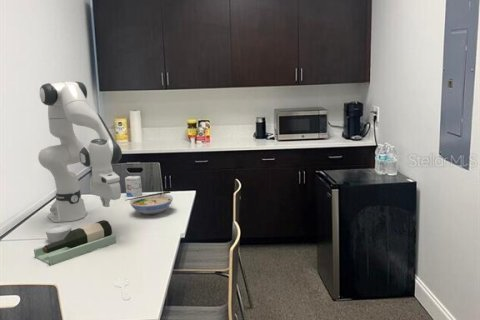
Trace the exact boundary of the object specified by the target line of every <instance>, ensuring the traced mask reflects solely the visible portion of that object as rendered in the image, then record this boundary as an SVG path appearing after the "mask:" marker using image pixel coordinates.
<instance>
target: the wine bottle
mask: <svg viewBox="0 0 480 320" xmlns="http://www.w3.org/2000/svg"><path fill="white" fill-rule="evenodd" d="M111 235H113V228H112V225H111V224H110V222H109V220H106V219H105V220H104V219H103V220H100V221H96V222H93V223H91V224H87V225H84V226H81V227H78V228H75V229H71V231H70V232H69V233H68V234H67V236H66V237H65V238H64V239H63V240H60V241H57V242H54V243H52V242H50V243H48V244H45V245H43V246H44V247H43V246H42V247H43V248H42V249H43V252H44V253H50V252H53V251H56V250H59V249H62V248H65V247H68V248H74V247H77V246H80V245H83V244H86V243H89V242H92V241H95V240H98V239H101V238H104V237H107V236H111Z"/></svg>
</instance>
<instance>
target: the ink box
mask: <svg viewBox="0 0 480 320" xmlns="http://www.w3.org/2000/svg"><path fill="white" fill-rule="evenodd" d="M141 178H142V177H141V176H140V175H129V176H126V177H124V184H125V192H126V193H125V194H126V197H128V198H135V197H138V196H142V195H143V188H142V186H143V185H142V180H141Z"/></svg>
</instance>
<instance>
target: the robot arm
mask: <svg viewBox="0 0 480 320" xmlns="http://www.w3.org/2000/svg"><path fill="white" fill-rule="evenodd" d="M39 98H40V101H41V103H42V104H43V105H45V106H47V118H48V126H49V127H48V128H49V132H50V134H51V135H52V136H53V137H55V138H57V139H59V141H60V144H56V145H50V146H47V147H45V148H43V149H40V151H39V152H38V163H39V165H41V167H43V168H45V169H46V170H48V171H49V173H51V175H52V177H53V180H54V183H55V188H56V192H55V200H54V202H52V204H51V205H50V208H49V211H50V212H49V213H48V214H46V217H47V218H49V219H50V220H51V221H52V222H54V223H62V222H63V223H64V222H73V221H77V220H81V219H84V218H85V217H86V215H88V214H89V211H88V210H86V206H85V200H84V198H82V192H81V189H80V183H79V177H78V175H77V174H76V173H74V172H72V171H69V169H68V166H69V165H73V164H78V163H80V164H81V165H83V166H84V167H86V168H91V176H90V178H89V183H88V184H89V186H88V188H89V193H90V195H93V196H96V197H99V199H100V201H101V202H102V203H101V204H102V207H105V208H109V207H110V202H111V201H112V200H113V201H115V200H120V199H121V196H122V189H121V184H120V180H121V177H120V176H119V174H117V173H116V172H115V171H113V170H114V169H113V166H112V165H117V164H118V163H119V161H120V160H121V159H122V156H123V151H122V149H121V147H120V145H119V144H118V143H117V141H116V140H115V139H114V137H113V134H112V133H111V132H110V130H109V127H108V126H107V125H106V123H105V121H104V119H103V118H102V117H101V115H100V114H99V113H96V112H95V111H94V110H93V109H92V108H91V107H90V106H89V103H88V101H87V98H88V90H87V87H86V85H85V84H84V83H83V82H82V81H81V82H80V81H61V82H60V81H59V82H51V83H49V82H48V83H44V84H42V85H41V86H40V88H39ZM73 124H74V125H76V126H80V127H85V128H89V129H91V130H93V131H95V132H96V133H97V134H98V136H99V138H95V139H94V138H93V139H92V140H90V142H89V144H88V145H87V146H86V144H84V143H83V142H81V140H79V139H78V137H77V136H76V134H75V132H74V131H75V130H74V125H73Z"/></svg>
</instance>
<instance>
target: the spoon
mask: <svg viewBox="0 0 480 320" xmlns="http://www.w3.org/2000/svg"><path fill="white" fill-rule="evenodd" d="M129 283H130V281H129V280H128V279H127V278H123V277H122V278H121V277H120V278H117V279H115V280H114V281H113V286H114V287H116V288H120V291H121V294H122V299H123V300H124V301H129V300H131V298H132V297H131V296H130V294H129V292H128V290H127V288H126V286H128V285H129Z"/></svg>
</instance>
